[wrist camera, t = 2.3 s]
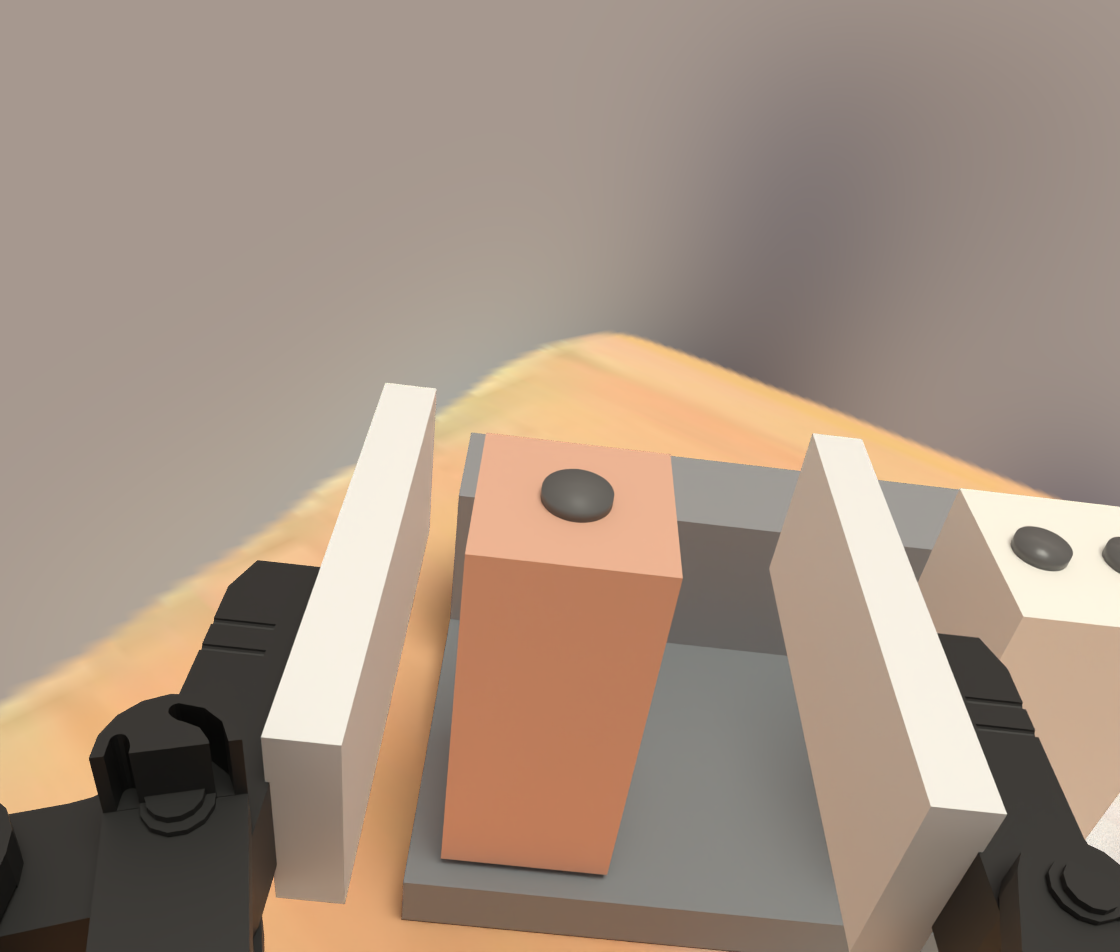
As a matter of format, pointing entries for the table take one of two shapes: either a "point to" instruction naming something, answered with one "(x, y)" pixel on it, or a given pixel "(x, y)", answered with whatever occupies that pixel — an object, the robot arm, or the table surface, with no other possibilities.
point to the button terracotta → (557, 649)
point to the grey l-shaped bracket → (684, 753)
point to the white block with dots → (1042, 623)
